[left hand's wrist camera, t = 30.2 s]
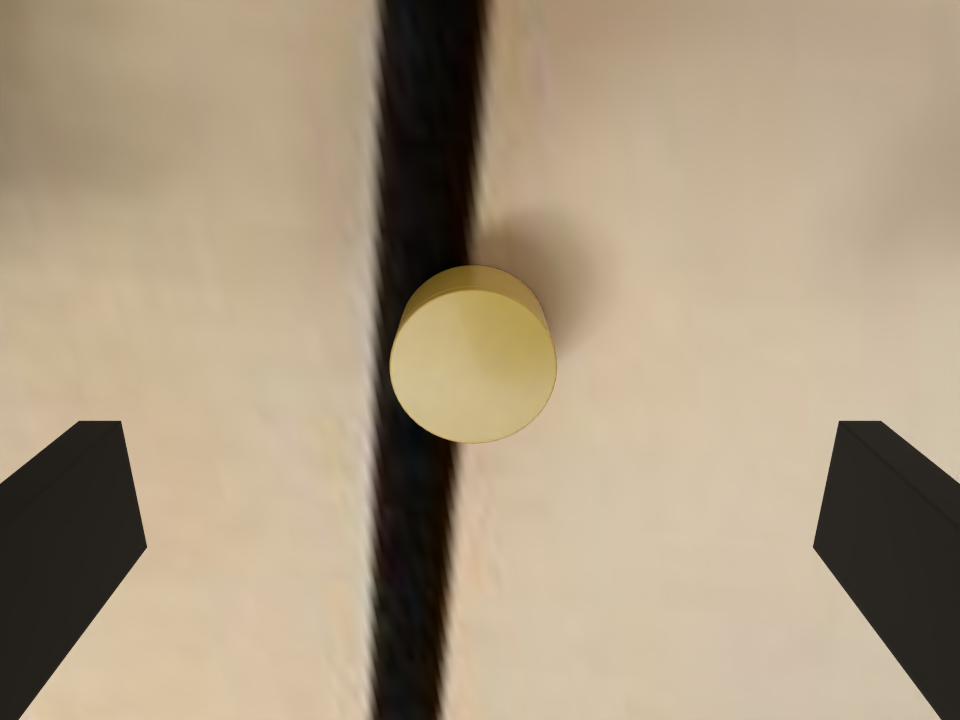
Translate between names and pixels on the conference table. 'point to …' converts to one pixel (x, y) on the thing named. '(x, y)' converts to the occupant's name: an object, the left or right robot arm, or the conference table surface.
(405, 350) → the cap
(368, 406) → the conference table surface
